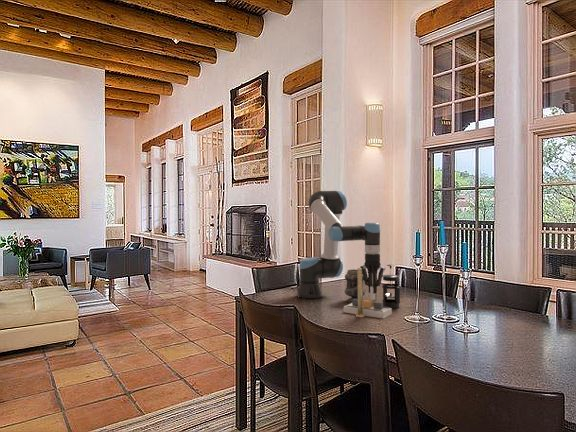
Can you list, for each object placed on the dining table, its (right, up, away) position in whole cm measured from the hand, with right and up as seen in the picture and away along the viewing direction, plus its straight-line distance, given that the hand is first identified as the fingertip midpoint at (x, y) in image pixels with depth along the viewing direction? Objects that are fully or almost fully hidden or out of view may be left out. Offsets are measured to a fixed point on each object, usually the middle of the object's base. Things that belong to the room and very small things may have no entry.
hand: (372, 299), depth 212 cm
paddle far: (+2, -4, -2) cm, 5 cm away
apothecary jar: (-4, -7, +30) cm, 31 cm away
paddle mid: (-2, -4, +2) cm, 5 cm away
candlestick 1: (-7, -8, -4) cm, 11 cm away
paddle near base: (-7, -4, +5) cm, 10 cm away
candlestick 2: (+2, -7, +8) cm, 11 cm away
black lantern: (+13, -7, +14) cm, 21 cm away
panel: (-2, -7, +2) cm, 8 cm away
